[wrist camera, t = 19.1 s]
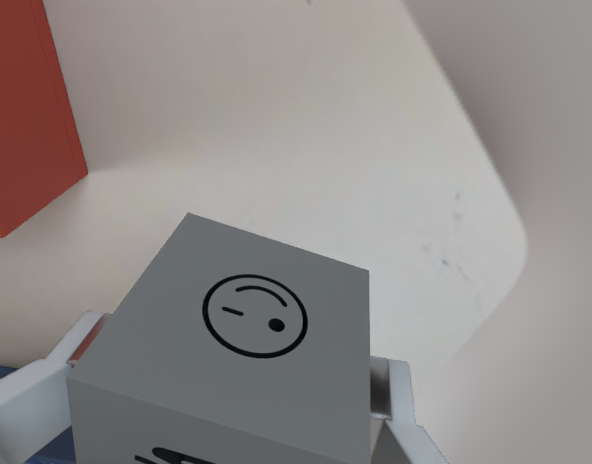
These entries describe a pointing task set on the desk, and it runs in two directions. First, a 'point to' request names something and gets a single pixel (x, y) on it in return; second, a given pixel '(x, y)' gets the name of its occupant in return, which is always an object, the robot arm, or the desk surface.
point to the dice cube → (229, 358)
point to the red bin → (32, 117)
